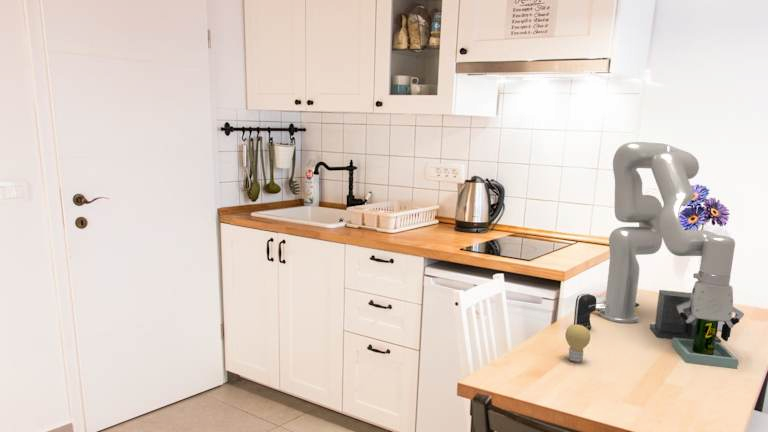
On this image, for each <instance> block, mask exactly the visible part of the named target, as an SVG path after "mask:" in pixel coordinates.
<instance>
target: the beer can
mask: <svg viewBox="0 0 768 432" xmlns="http://www.w3.org/2000/svg"><path fill="white" fill-rule="evenodd" d="M718 322H719V321H714V320H704V319H698V318H697V320H696V327H695V334H694V341H693V348H692V351H693V353H695V354H704V355H714V348H715V342H716V336H717V333H718V331H717V328H718Z"/></svg>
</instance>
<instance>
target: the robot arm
mask: <svg viewBox="0 0 768 432" xmlns="http://www.w3.org/2000/svg"><path fill="white" fill-rule="evenodd" d="M612 169H613V177H614V216H615V218H616V220H617V221H619V222H622V223H629V224H630V223H632V224H635V223H637V224H638V226H621V227H617V228H615V229H614V230H612V231H611V233H610V234H609V237H608V245H609V246H608V247H609V266H608V276H607V282H606V293H605V300H602V302H600V303H597V302H596V310H595V311H599V313H598V314H599V315H600V317H602V318H603V319H606V320H608V321H612V322H616V323H624V324H625V323H626V324H633V323H637V322H639V320H640V317H639V316H638V314H636V313H635V312H636V302H637V294H638V285H639V278H640V277H639V276H640V264H639V261H638V259H637V256H640V255H645V256H646V255H653V254H656V253H658V252H659V250H660V249H661V247H662V244H663V242H664V245H665V247H666V249H667V251H669V253H671V254H672V255H674V256H678V257H701V259H700V265H699V271H697V272H695V273H693V279H697V280H696V281H695V282H694V285H693V287H692V290H691V292H690V293H691V297H690V301H688V302H685V303H682V304H679V305H677V306H676V308H677V311H678V313H679V315H680V316H681V317H682V318H683V320H684V328H683V332H684V333H685V335H686V336H687V337H691V330H692V323H691V321H693V320H694V319H695V318H698V319H704V320H714V321H724V323H725V324H723V325H722V331H720V332H721V333H720V339H722V340H723V341H724V342H728V341H729V338H730V337H731V333H732V332H731V331H732V328H734V326H735V325H737V324H739V323H740V320H742V318H743V317H744V315H745V313H744V312H743V311H741V310H739V309H738V308H737V307H735V306H734V292H733V291H734V290H733V286H732V285H730V282H731V275H732V274H731V273H732V270H733V269H732V267H733V260H734V253H735V247H736V241H735V240H734V238H732V237H730V236H728V235H727V236H726V235H721V234H716V233H714V232H712V231H709V230H705V229H684V228H683V226H682V223H681V221H680V209H681V208H682V207H683V206H685V205H687V204H688V203H689V204H690V202H691V201H692V200H693V199H694V197H695V193H694V191H693V188H692V185H691V183H690V180H691V179H693V178H695V177H696V176H697V175H698V173H699V169H700V164H699V161H698V159H697V158H696V157H695V156H694V154H692V153H691V152H688V151H686V150H683V149H680V148H677V147H675V146H672V145H670V144H666V143H661V142H659V143H658V142H645V141H631V142H627V143H624V144H622V145H620V146H619V147H618V148H617V150H615V153H614V155H613V158H612ZM637 169H651V172H652V174H653V177H654V179H655V183H656V185H657V188H658V191H659V194H660V197H661V199H662V202H663V206H662V203H661V201H660V199H658V198H657V197H656V196H654V195H651V194H643V179H642V178H641V175H640V173H639V171H638V170H637ZM688 307H689V308H688ZM685 308H688V311H689V313H688V314H686V315H685V314H684V311H683V309H685ZM733 313H734V314H735V315H734V316H733Z"/></svg>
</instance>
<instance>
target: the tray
mask: <svg viewBox="0 0 768 432" xmlns="http://www.w3.org/2000/svg"><path fill="white" fill-rule="evenodd" d="M671 340H672V341H671V347H672V348H673V349H674V351H675V352H677V354H678V355H679V356H680V358H681V359H682V360H683V361H684V362H685V363H687V364H695V365H702V366H703V365H704V366H711V367H718V368H727V369H729V368H730V369H738V366H739V359H738V358H737V356H735V355H734V354H733V353H732V352H731V351H730V349H728V348H726V347H725V346H724V345H723V343H722V342H721V343H718V342H715V348H714V355H704V354H695V353H693V351H692V348H693V341H694V340H691V339H682V338H673V339H671Z"/></svg>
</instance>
